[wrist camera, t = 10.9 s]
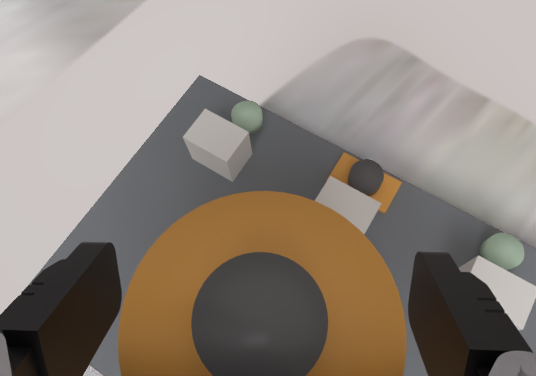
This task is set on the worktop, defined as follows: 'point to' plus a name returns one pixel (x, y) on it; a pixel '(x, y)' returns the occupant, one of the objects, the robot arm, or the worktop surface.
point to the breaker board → (298, 183)
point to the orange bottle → (262, 295)
